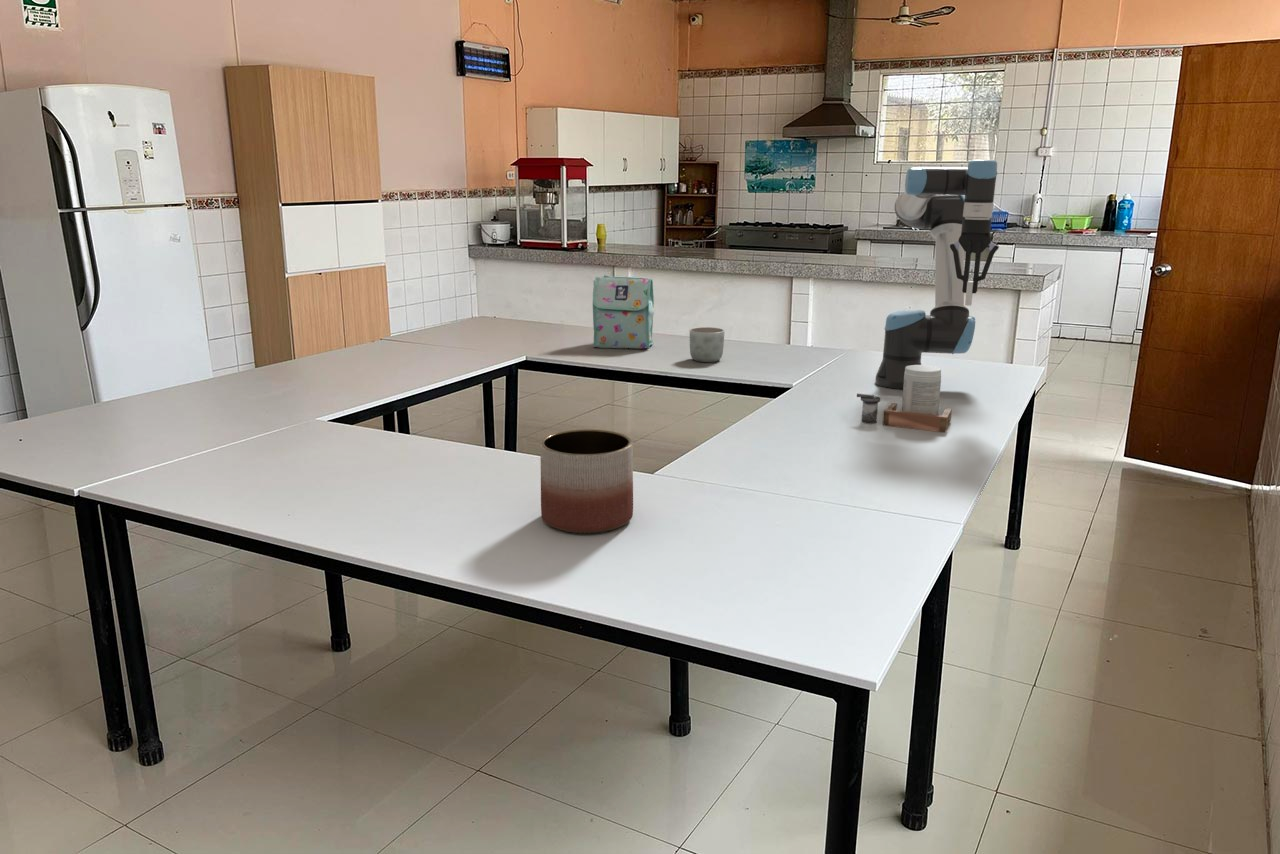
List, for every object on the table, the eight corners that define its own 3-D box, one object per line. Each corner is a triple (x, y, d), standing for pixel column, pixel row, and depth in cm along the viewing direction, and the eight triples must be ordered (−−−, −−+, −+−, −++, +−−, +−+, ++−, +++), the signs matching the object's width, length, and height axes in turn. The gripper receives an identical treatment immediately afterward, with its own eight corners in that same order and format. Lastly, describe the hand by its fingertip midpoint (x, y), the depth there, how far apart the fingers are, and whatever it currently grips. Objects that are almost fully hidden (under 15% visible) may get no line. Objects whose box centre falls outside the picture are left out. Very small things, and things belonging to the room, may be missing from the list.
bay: (890, 414, 255) (891, 400, 254) (950, 421, 248) (951, 407, 247) (882, 425, 244) (883, 410, 243) (945, 432, 238) (946, 417, 237)
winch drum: (857, 417, 251) (859, 391, 249) (880, 420, 249) (882, 394, 247) (853, 422, 247) (855, 395, 245) (876, 425, 244) (879, 398, 242)
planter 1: (558, 542, 166) (556, 460, 162) (529, 510, 182) (527, 434, 178) (647, 528, 173) (648, 448, 169) (612, 498, 189) (612, 425, 184)
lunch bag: (589, 349, 346) (589, 277, 338) (598, 341, 361) (598, 272, 354) (649, 351, 342) (650, 279, 335) (656, 343, 358) (656, 274, 350)
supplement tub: (944, 422, 248) (950, 369, 244) (921, 427, 242) (926, 373, 238) (915, 414, 255) (920, 362, 251) (893, 419, 250) (897, 366, 246)
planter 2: (700, 355, 335) (701, 325, 332) (730, 359, 328) (731, 329, 325) (682, 360, 325) (682, 330, 322) (711, 365, 318) (712, 334, 316)
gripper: (950, 218, 249) (942, 305, 256) (1001, 219, 244) (991, 308, 250) (953, 217, 256) (945, 301, 262) (1003, 218, 251) (994, 304, 257)
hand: (968, 304), depth 256 cm, fingers closed
